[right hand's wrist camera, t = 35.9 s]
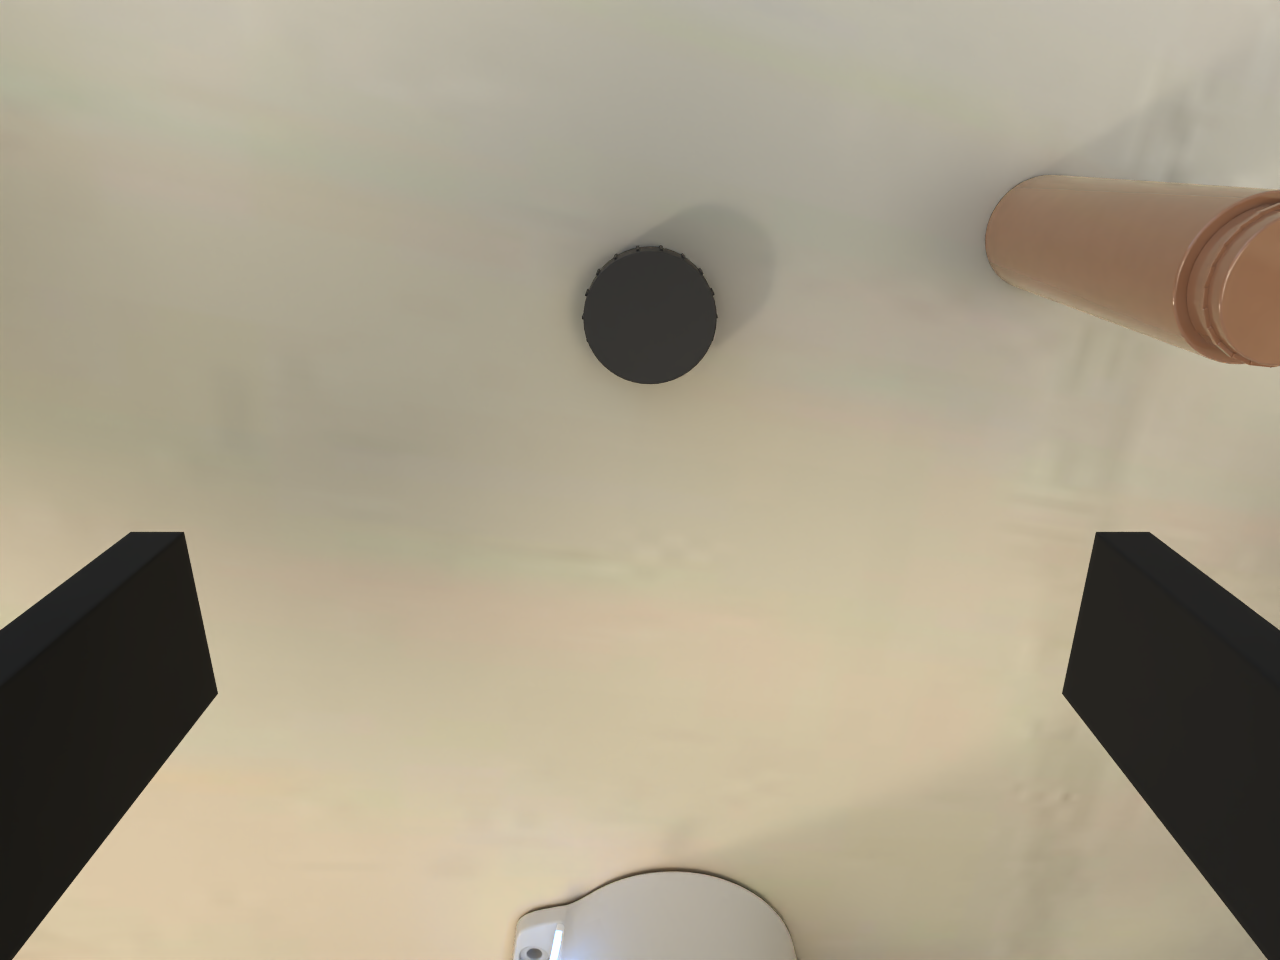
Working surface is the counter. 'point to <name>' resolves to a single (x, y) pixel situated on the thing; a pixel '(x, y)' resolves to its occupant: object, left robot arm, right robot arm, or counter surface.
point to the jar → (1150, 258)
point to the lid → (649, 315)
